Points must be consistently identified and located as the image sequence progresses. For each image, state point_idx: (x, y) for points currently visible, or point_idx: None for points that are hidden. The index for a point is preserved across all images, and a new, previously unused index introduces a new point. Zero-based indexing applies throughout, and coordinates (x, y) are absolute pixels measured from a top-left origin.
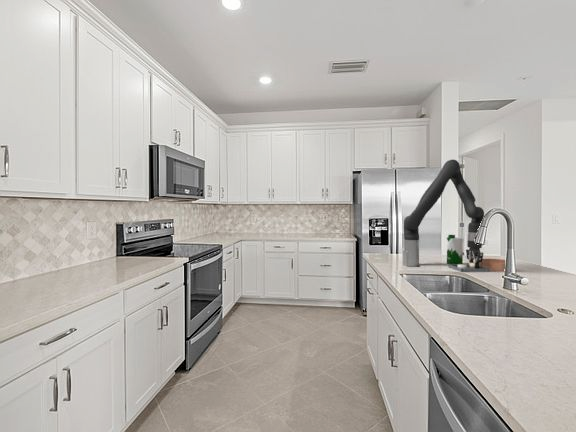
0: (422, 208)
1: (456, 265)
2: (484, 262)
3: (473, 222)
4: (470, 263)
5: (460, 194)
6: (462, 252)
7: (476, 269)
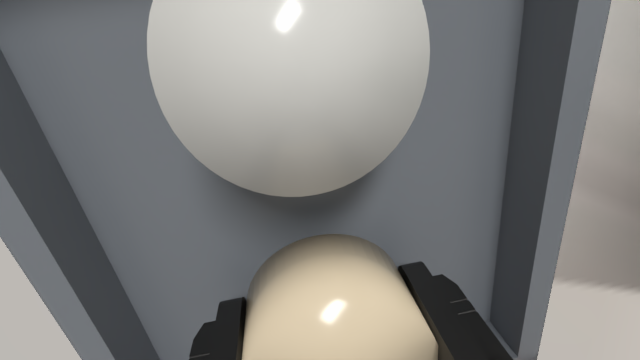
0: None
1: (557, 28)
2: None
3: None
4: (313, 311)
5: None
6: None
7: (46, 284)
